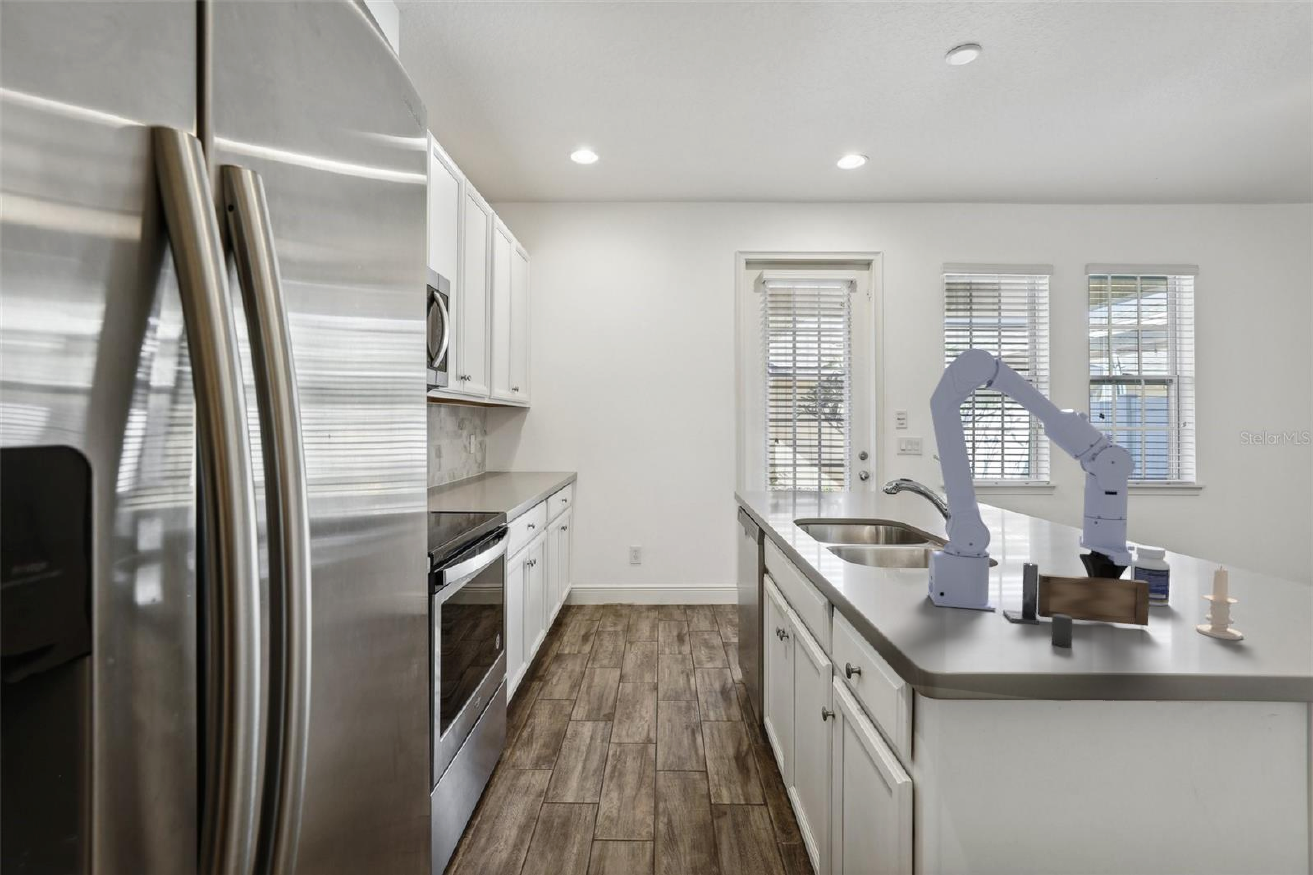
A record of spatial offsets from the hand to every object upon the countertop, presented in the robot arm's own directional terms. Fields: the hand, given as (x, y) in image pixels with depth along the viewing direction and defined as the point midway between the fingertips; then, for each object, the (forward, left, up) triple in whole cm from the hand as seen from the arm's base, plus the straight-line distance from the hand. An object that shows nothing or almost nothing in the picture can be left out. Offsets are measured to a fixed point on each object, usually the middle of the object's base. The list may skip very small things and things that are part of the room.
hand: (1102, 599), depth 100 cm
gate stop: (-11, -16, -3) cm, 19 cm away
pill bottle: (+12, +12, -3) cm, 18 cm away
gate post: (-13, -5, -3) cm, 14 cm away
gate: (-3, -5, -2) cm, 6 cm away
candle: (+14, -4, -3) cm, 15 cm away
